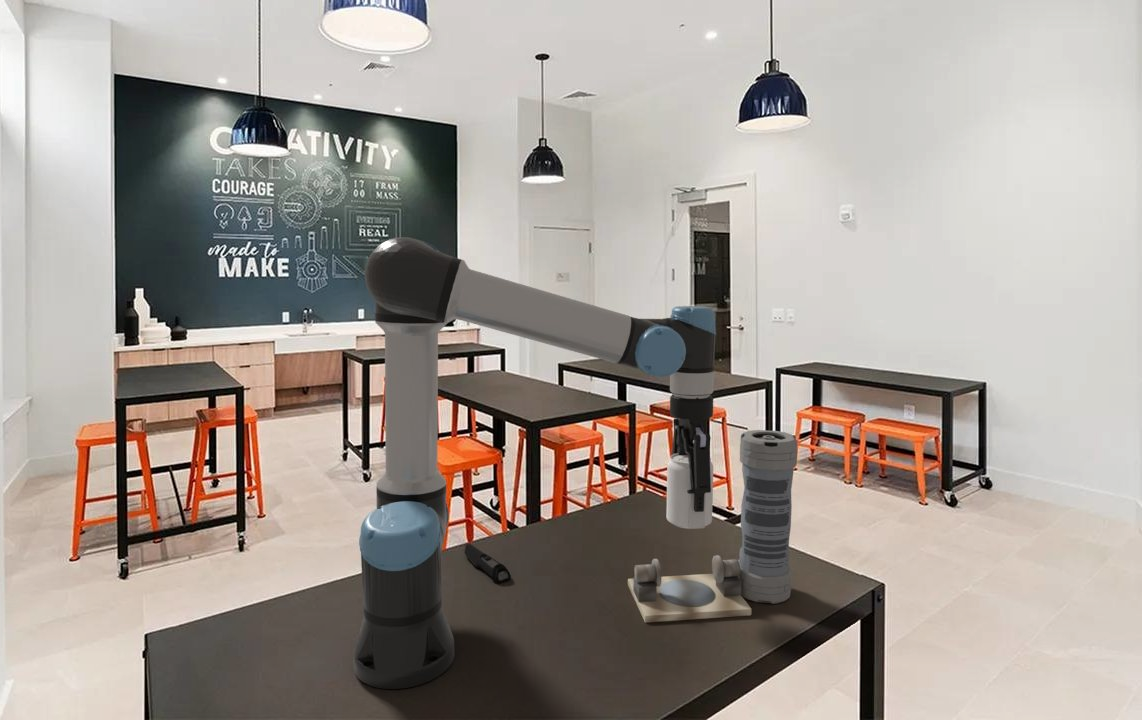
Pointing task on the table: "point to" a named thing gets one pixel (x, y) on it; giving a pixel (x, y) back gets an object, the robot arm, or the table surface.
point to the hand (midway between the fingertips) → (688, 518)
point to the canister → (766, 514)
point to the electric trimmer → (487, 564)
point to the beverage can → (683, 492)
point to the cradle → (689, 593)
